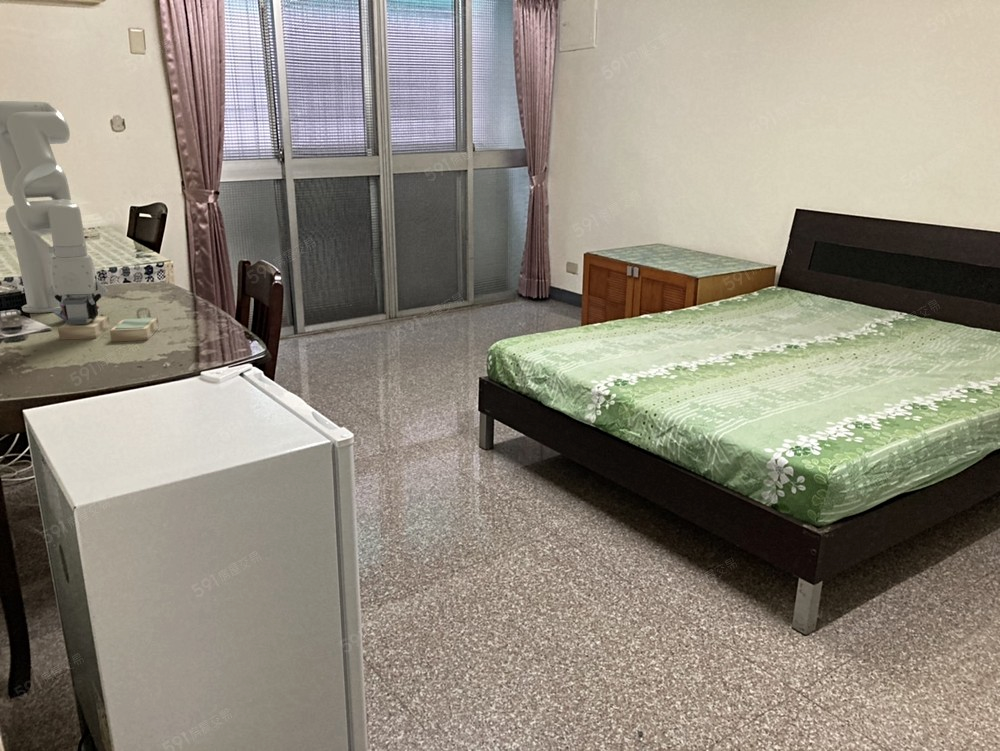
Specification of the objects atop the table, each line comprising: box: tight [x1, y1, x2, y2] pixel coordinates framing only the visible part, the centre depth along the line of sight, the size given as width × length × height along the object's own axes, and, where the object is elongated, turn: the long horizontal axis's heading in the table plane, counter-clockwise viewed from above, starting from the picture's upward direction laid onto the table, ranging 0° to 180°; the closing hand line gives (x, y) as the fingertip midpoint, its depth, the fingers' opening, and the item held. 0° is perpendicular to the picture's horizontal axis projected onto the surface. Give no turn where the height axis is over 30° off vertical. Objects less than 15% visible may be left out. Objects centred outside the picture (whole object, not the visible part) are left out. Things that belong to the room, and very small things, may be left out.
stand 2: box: [109, 317, 160, 342], centre depth 205 cm, size 12×9×3 cm
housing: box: [62, 295, 93, 325], centre depth 206 cm, size 9×5×7 cm, turn 10°
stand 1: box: [57, 315, 111, 341], centre depth 207 cm, size 12×9×3 cm
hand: (82, 317), depth 207 cm, fingers closed on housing, 5 cm apart
